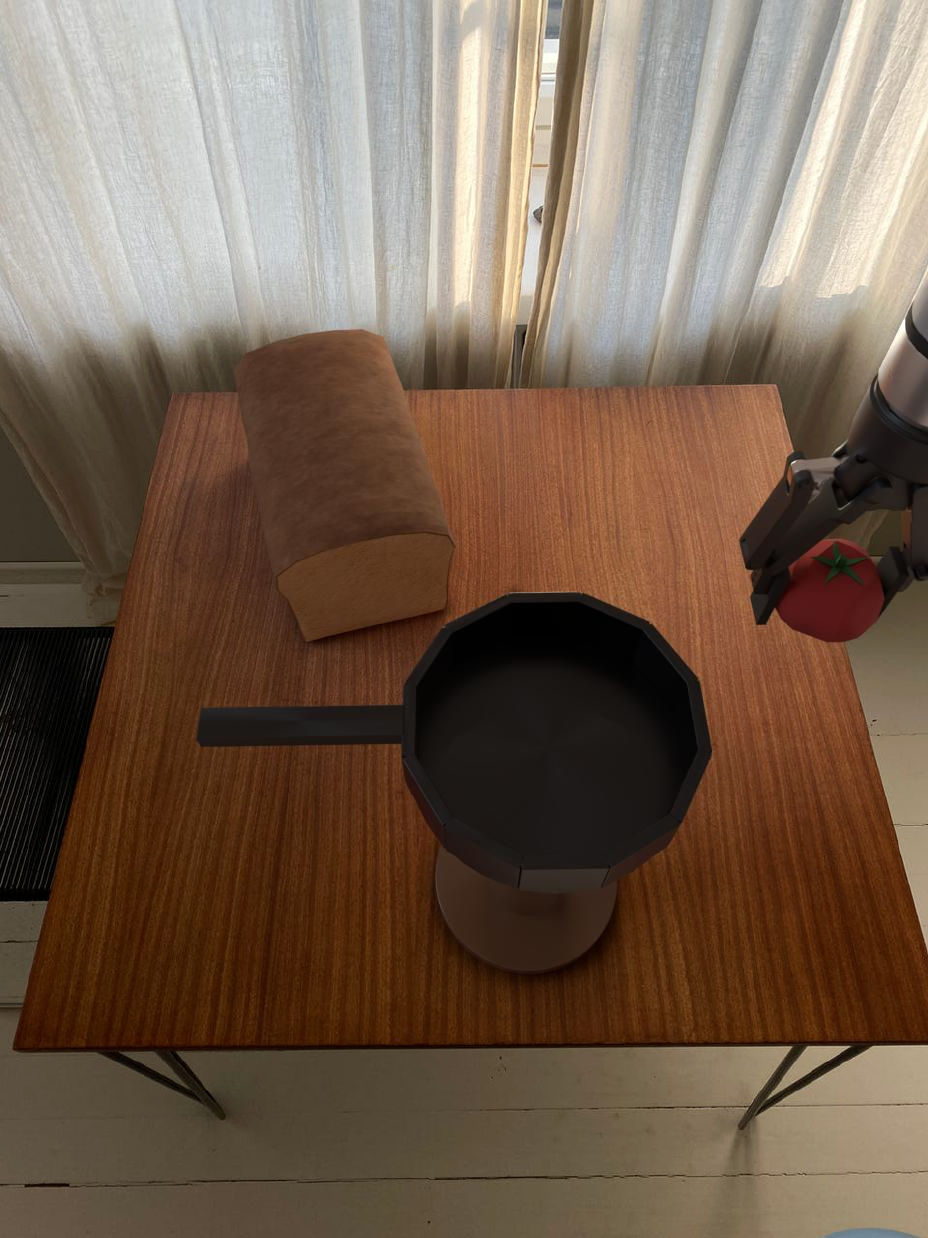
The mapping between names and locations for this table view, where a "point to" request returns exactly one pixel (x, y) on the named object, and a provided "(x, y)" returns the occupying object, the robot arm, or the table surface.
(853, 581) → the tomato
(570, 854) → the pan
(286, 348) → the bread
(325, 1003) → the table surface
